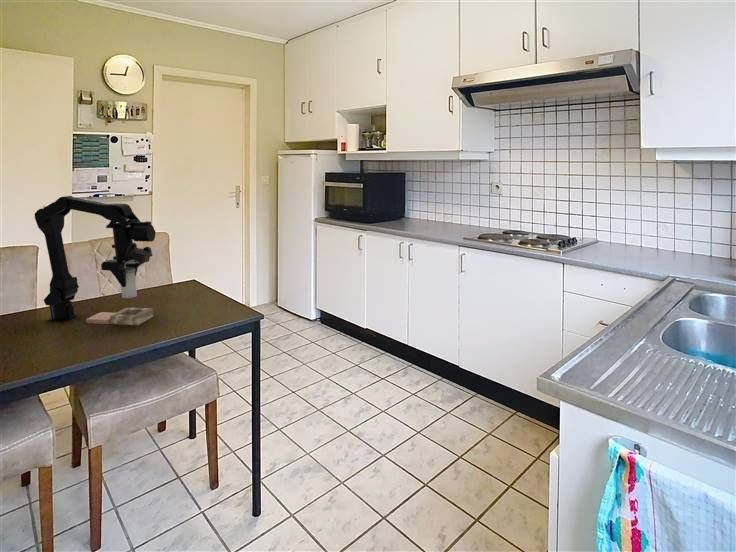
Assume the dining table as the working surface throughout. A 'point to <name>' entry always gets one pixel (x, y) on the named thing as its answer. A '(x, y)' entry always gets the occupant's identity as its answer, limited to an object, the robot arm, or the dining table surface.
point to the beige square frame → (132, 316)
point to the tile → (100, 318)
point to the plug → (129, 284)
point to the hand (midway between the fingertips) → (128, 285)
